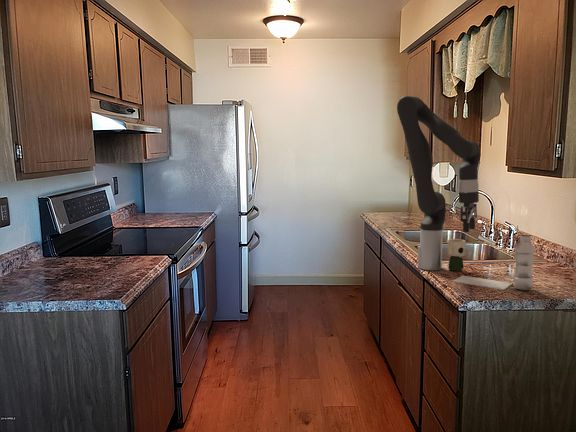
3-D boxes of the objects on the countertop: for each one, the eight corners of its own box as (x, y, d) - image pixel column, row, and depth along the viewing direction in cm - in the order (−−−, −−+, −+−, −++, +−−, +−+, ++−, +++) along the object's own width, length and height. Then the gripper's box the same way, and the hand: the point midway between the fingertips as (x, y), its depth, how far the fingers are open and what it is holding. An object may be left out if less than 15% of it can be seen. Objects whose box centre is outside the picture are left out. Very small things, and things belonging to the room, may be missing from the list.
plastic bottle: (509, 289, 174) (512, 235, 171) (516, 286, 178) (519, 233, 176) (528, 293, 169) (531, 237, 166) (535, 289, 174) (538, 235, 171)
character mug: (457, 274, 197) (458, 243, 195) (441, 271, 202) (442, 241, 200) (469, 269, 204) (470, 239, 202) (454, 266, 209) (455, 237, 208)
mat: (452, 281, 186) (452, 280, 186) (462, 276, 193) (462, 275, 193) (503, 290, 173) (504, 289, 173) (512, 284, 181) (512, 283, 181)
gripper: (464, 189, 200) (464, 228, 202) (453, 192, 189) (454, 232, 190) (482, 189, 196) (483, 228, 197) (473, 192, 184) (473, 233, 186)
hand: (469, 230), depth 194 cm, fingers open, 8 cm apart
